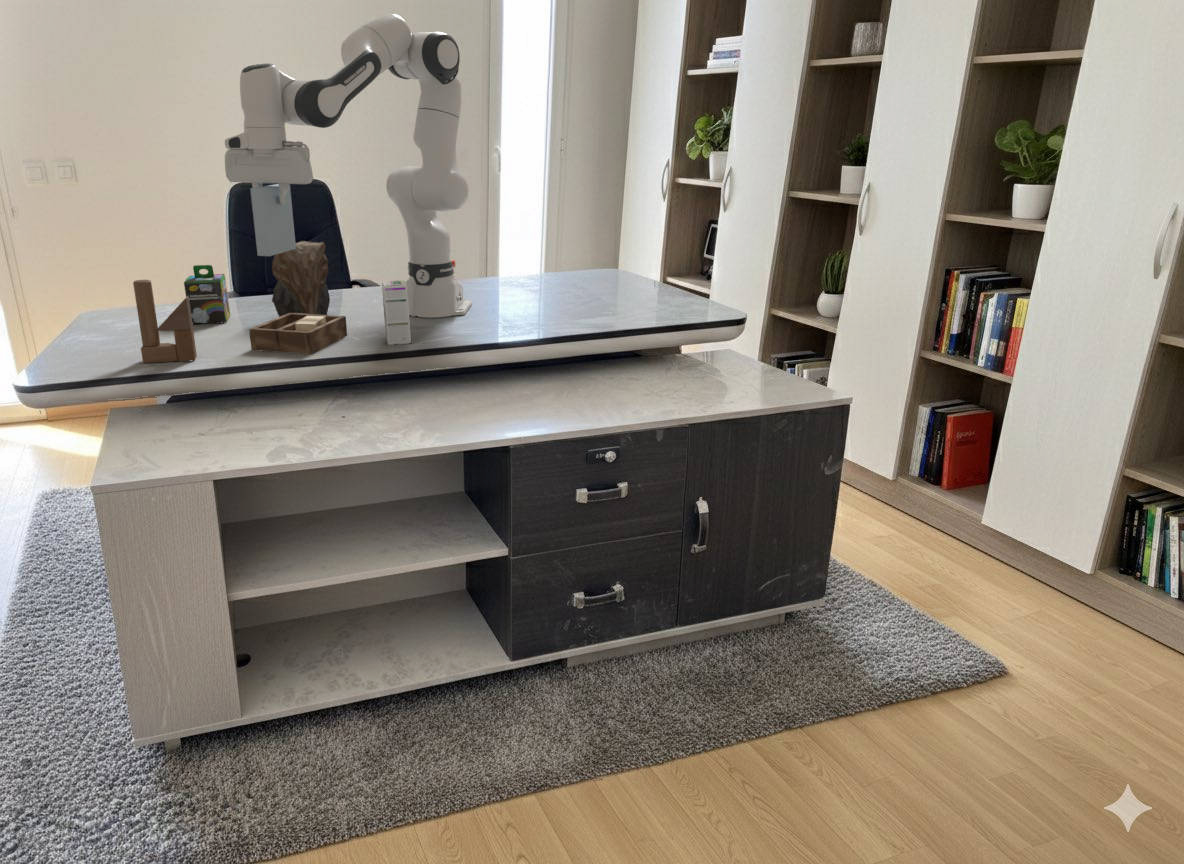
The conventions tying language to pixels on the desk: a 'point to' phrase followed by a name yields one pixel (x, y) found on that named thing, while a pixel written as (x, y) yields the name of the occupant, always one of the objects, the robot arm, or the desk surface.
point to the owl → (301, 280)
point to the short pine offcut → (310, 323)
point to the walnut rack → (296, 334)
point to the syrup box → (396, 312)
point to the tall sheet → (272, 221)
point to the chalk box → (207, 296)
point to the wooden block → (163, 328)
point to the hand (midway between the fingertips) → (272, 203)
